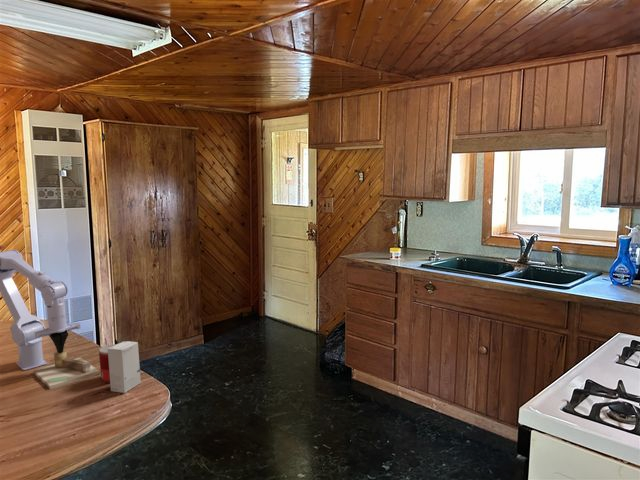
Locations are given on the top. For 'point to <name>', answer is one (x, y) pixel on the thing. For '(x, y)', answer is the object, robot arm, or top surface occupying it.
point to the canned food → (104, 363)
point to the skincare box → (124, 366)
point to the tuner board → (63, 374)
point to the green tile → (58, 379)
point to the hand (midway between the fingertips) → (60, 352)
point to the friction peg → (70, 362)
